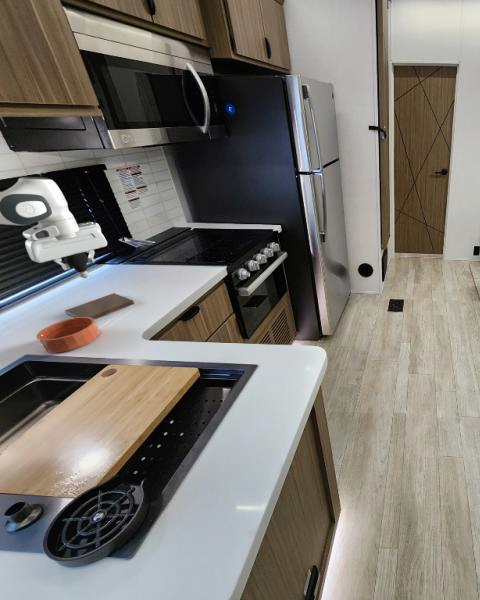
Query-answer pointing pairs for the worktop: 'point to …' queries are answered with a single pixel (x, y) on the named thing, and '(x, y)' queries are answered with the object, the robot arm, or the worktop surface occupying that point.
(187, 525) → the worktop surface
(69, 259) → the black bulb silver base
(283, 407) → the worktop surface
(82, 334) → the bowl
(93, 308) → the board
